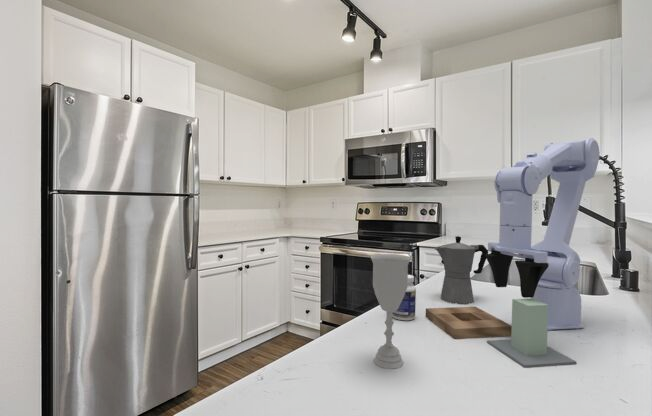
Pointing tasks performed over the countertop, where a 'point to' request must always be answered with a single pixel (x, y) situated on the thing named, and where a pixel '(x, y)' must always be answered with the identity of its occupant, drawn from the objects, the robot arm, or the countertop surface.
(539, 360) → the slate mat
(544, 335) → the sage block
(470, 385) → the countertop surface
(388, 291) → the chalice
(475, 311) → the pocket holder
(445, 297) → the coffeepot
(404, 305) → the pill bottle
